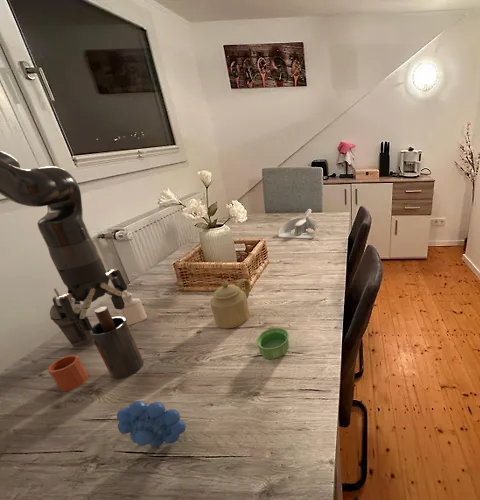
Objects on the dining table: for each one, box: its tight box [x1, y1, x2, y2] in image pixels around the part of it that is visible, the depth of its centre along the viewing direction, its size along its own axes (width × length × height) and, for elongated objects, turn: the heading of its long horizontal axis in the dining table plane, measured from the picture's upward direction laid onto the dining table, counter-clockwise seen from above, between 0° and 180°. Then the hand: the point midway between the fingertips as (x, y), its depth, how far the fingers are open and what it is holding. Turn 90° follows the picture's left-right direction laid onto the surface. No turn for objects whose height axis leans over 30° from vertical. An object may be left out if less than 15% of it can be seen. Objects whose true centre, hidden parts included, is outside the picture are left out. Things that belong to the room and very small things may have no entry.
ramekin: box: [256, 327, 290, 360], centre depth 81 cm, size 9×9×4 cm
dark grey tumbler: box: [89, 316, 145, 380], centre depth 73 cm, size 7×7×15 cm
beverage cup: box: [49, 288, 93, 348], centre depth 82 cm, size 7×7×20 cm
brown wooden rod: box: [94, 306, 116, 333], centre depth 72 cm, size 4×4×19 cm
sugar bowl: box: [209, 278, 251, 329], centre depth 95 cm, size 15×11×15 cm
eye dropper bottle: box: [120, 290, 148, 326], centre depth 93 cm, size 4×6×12 cm
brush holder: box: [47, 354, 89, 392], centre depth 71 cm, size 6×6×7 cm
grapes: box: [116, 400, 187, 447], centre depth 55 cm, size 12×7×12 cm, turn 97°
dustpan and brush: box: [277, 208, 318, 240], centre depth 178 cm, size 23×33×10 cm
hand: (104, 318), depth 69 cm, fingers open, 8 cm apart
